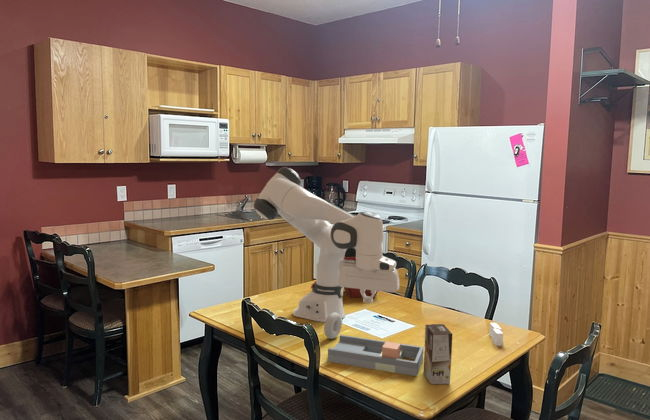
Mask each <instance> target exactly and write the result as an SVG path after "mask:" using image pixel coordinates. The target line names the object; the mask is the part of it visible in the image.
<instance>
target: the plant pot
mask: <svg viewBox="0 0 650 420" xmlns="http://www.w3.org/2000/svg"><path fill="white" fill-rule="evenodd" d="M344 259H347V260H356V256H350V257H349V256H348V257H346V256H345V257H344ZM343 291H344V292H345V293H346V294H347V295H348V297H349V298H350V299H359V298H362V299H363V297H362V295H361V293H360V289H356V288H347V287H343ZM378 292H379V291H376V293H375V295H374V296H373V298H375V297H376V296H377V294H378ZM365 294H366V296H370V297H371V295H372V294H373V293H371V290H366V291H365Z"/></svg>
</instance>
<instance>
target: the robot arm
mask: <svg viewBox="0 0 650 420" xmlns="http://www.w3.org/2000/svg"><path fill="white" fill-rule="evenodd" d="M275 172H276V173H275V174H274V175H273V176H272V177H271V178H270V179H269V180H268V181H267V182H266V185H265V186H264V187H263V189H262V190H261V191H260V194H259V195H258V197H257V198H255V200H254V203H253V208H254V210H255V212H256V214H257V215H258V216H259V217H261V218H262V219H265V220H269V221H272V220H275V218H277V217H278V216H281V218H282V219H283V220H285V221H286V222H287V223H288V224H289V225H291V226H292V227H294V229H296V230H297V231H299V233H301V234H302V235H303V236H305V238H307V239H308V240H310V241H311V243H313V244H314V245H315V246H317V247H318V248H319V250H320V252H319V257H318V262H317V263H316V272H315V273H316V274H315V275H316V277H315V279H316V280H315V281H314V282H313V283H312V284H311V286H310V289H311V291H309V292H308V293H306V295H303V297H301V299H299V303H298V307H296V308H294V310H293V311H292V315H293V317H297V318H303V319H307V320H309V321H315V322H319V323H325V321H326V319H327V317H328V316H329V315H330V314H331V313H334V312H336V313H338V314H339V315H340V316H341V319H342V320H343V318H345V316H346V314H345V309H344V305H343V296H344V287H347V288H356V289H360V293H361V295H362V297H363V298H362V302H363V303H369V304H373V302H374V297H373V296H374V295H375V293H376V291H378V292H384V293H385V292H386V293H397V292H398V291H399V290H400V275H399V271H398V270H397V268H396V267H397V261H396V260H394V259H392V258H389V257H387V256H384V255H383V254H384V253H383V248H382V247H383V242H384V223H383V218H382V217H381V215H379V214H377V213H375V212H371V211H361V212H359V213H358V214H357V215H355V214H353V213H350V212H348V211H346V210H344V209H342V208H340V207H339V206H338V205H337V206H336V205H335V204H334V203H333V204H332V203H330V202H329V201H326V200H325V199H323V198H321V197H319V196H317V195H316V194H314V193H312V192H310V191H309V190H308V189H305V188H304V187H302V186H301V184H302V180H301V177H300V175H299V174H298V172H297V171H295V170H294V169H292V168H290V167H287V166H281V168H279V169H277V171H275ZM348 249H354V250H355V257H356V260H347V259H344V258H345V257H346V256H345V255H346V252H347V250H348ZM366 290H371V293H373V294H372V295H371V297H370V296H366V294H365V291H366Z"/></svg>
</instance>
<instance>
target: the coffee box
mask: <svg viewBox="0 0 650 420" xmlns="http://www.w3.org/2000/svg"><path fill="white" fill-rule="evenodd" d="M424 326H425V328H424V350H423V373H424V375H425V377H426V378H427V380H428V382H429V383H430V385H449V384H451V371H452V369H451V368H452V355H453V353H452V351H453V350H452V348H453V333H452V332H451V331H450V330H449V328H448V327H447V326H446V325H445V324H444V323H433V324H432V323H431V324H425V325H424Z"/></svg>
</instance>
